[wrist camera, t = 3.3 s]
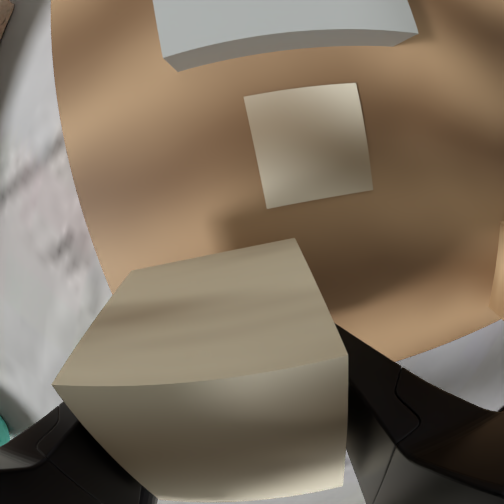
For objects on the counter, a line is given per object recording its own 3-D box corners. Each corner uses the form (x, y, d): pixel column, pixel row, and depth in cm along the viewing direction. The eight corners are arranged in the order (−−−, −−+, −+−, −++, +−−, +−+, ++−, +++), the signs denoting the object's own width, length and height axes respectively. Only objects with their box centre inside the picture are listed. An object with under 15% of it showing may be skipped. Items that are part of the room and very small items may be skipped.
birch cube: (312, 366, 10) (342, 485, 6) (181, 385, 10) (159, 499, 6) (294, 237, 8) (348, 355, 4) (131, 270, 9) (51, 384, 4)
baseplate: (523, 294, 14) (533, 302, 13) (170, 387, 15) (166, 403, 14) (489, -29, 6) (501, -34, 5) (63, -10, 7) (50, -18, 6)
